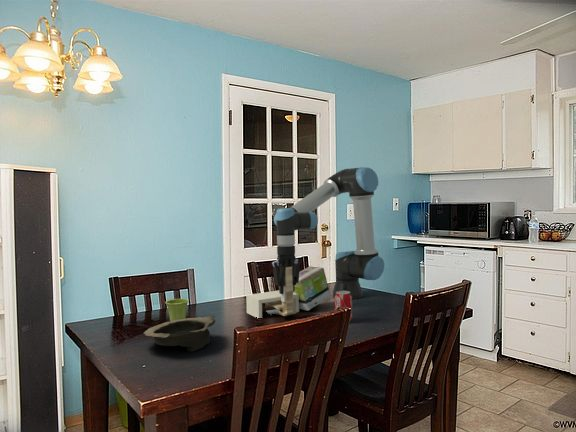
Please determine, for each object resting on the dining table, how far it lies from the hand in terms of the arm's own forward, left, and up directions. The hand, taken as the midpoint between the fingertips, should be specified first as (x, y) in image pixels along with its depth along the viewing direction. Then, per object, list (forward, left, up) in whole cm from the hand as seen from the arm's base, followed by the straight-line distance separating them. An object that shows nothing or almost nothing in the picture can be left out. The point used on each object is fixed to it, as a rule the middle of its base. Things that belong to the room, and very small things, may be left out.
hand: (287, 300), depth 186 cm
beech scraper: (0, -6, -6) cm, 8 cm away
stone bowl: (+48, +7, -8) cm, 49 cm away
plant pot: (+40, -23, -8) cm, 47 cm away
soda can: (-17, +16, -8) cm, 25 cm away
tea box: (-19, -8, -5) cm, 21 cm away
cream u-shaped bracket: (0, -13, -8) cm, 15 cm away
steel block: (0, -12, -8) cm, 14 cm away
